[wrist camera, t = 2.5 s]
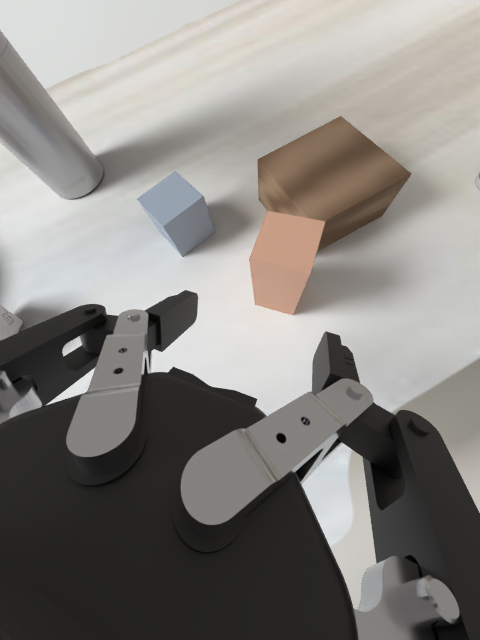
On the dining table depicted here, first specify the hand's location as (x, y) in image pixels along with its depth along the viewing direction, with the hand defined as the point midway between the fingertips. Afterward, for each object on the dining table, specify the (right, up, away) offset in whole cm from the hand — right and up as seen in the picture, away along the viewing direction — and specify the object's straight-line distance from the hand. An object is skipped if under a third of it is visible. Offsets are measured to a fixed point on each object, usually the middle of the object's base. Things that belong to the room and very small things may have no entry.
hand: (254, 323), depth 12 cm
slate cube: (-9, +13, +18) cm, 24 cm away
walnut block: (+10, +16, +17) cm, 25 cm away
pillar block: (+4, +4, +13) cm, 14 cm away
